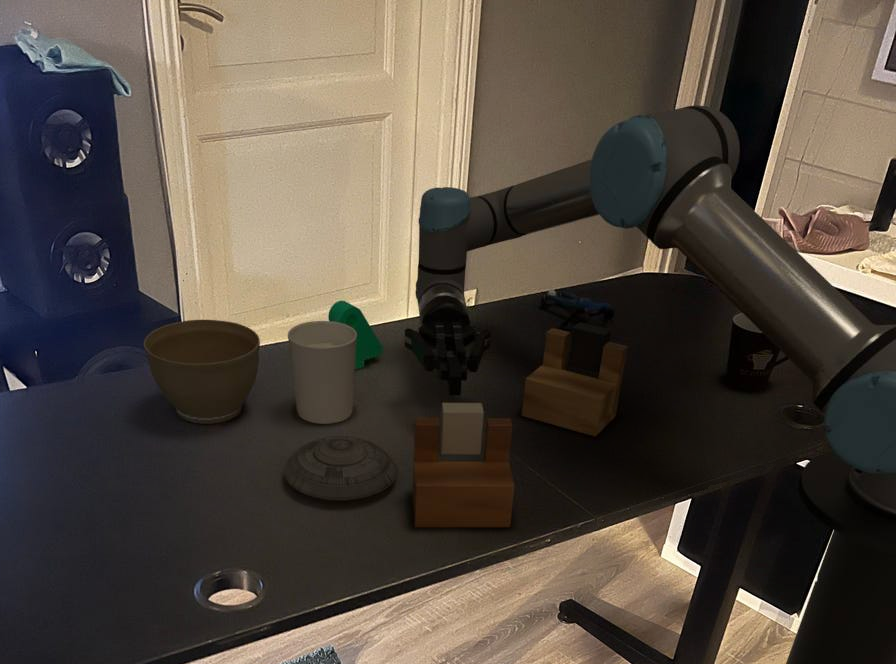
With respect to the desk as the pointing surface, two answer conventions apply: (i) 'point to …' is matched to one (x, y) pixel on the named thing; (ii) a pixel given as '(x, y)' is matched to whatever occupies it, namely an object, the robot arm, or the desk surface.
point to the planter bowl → (204, 366)
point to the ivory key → (461, 428)
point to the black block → (588, 346)
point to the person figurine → (578, 305)
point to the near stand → (462, 480)
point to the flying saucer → (340, 469)
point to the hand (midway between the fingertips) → (455, 386)
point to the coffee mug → (750, 356)
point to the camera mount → (357, 331)
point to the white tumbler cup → (323, 370)
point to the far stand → (574, 388)
